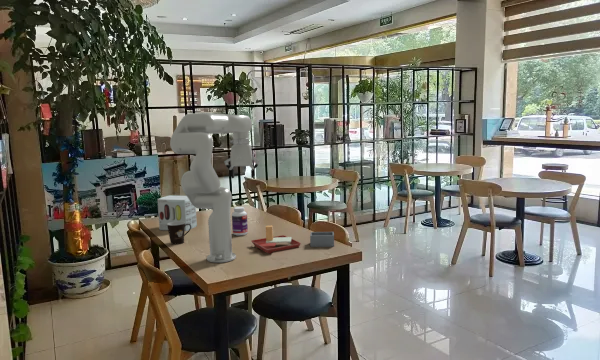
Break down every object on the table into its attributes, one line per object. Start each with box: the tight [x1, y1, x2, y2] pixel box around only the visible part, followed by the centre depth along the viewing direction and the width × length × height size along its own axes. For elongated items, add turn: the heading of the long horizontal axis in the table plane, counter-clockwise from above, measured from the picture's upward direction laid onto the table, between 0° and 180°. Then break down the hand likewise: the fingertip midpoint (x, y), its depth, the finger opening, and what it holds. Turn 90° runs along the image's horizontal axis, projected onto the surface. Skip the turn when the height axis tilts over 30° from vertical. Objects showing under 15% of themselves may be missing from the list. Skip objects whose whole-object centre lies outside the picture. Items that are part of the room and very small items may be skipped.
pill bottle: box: [231, 206, 249, 236], centre depth 239 cm, size 8×8×14 cm
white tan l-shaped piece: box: [265, 225, 293, 244], centre depth 212 cm, size 8×12×8 cm, turn 88°
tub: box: [309, 231, 335, 248], centre depth 212 cm, size 7×11×6 cm, turn 86°
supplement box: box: [157, 195, 198, 232], centre depth 257 cm, size 17×13×18 cm
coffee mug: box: [167, 222, 192, 246], centre depth 226 cm, size 12×9×10 cm
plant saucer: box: [250, 234, 302, 255], centre depth 212 cm, size 18×18×3 cm
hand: (242, 177), depth 218 cm, fingers open, 9 cm apart
